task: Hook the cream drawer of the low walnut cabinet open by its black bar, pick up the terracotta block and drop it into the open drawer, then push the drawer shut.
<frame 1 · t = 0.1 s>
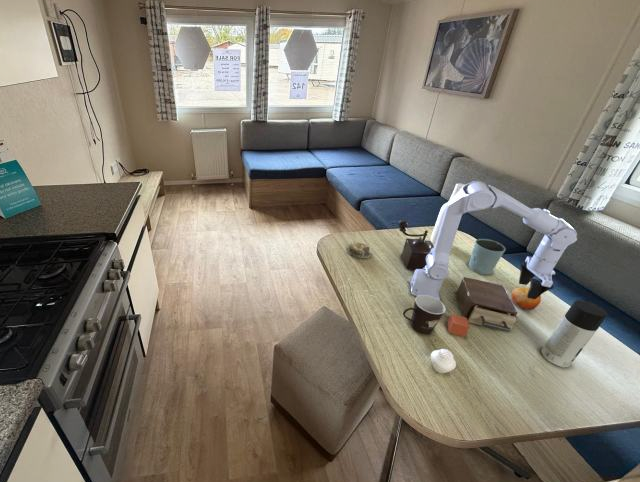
hand: (526, 290, 103), 10 cm above the table, tool pointing down, fingers open, 7 cm apart
manual coffee grinder: (409, 262, 134), on the table
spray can: (554, 358, 92), on the table
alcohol: (439, 243, 149), on the table
white garlic bulb: (439, 368, 88), on the table
fruit: (521, 305, 112), on the table
drawer: (488, 311, 103), point 4 cm above the table, slide at 1.0 cm
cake: (359, 253, 139), on the table
coffee mug: (416, 326, 101), on the table
green plant pot: (479, 269, 131), on the table
block: (455, 330, 100), on the table
cabinet: (480, 310, 109), on the table
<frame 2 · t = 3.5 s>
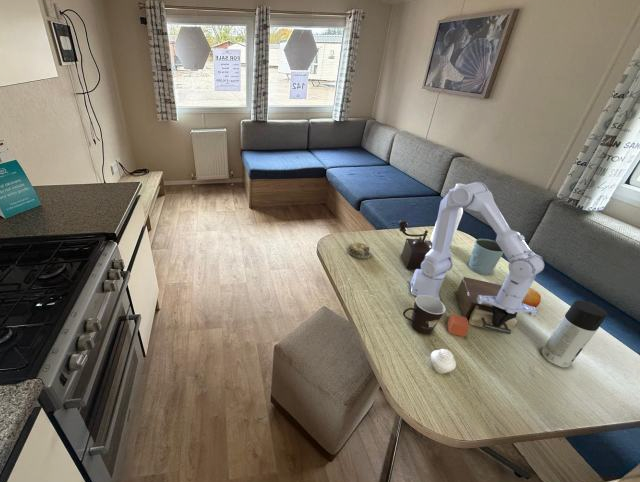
hand: (495, 325, 97), 4 cm above the table, tool pointing down, fingers closed, pressing on drawer
drawer: (488, 312, 102), point 4 cm above the table, slide at 1.9 cm, touching gripper
everything else where it was.
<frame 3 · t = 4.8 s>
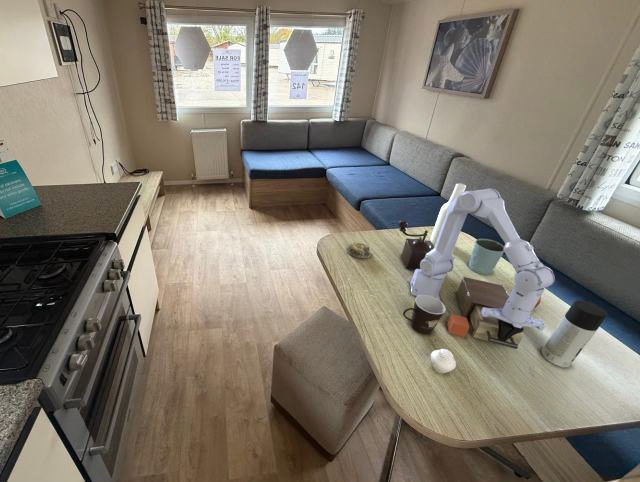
hand: (500, 339, 92), 4 cm above the table, tool pointing down, fingers closed, pressing on drawer
drawer: (493, 325, 98), point 4 cm above the table, slide at 7.7 cm, touching gripper
everything else where it was.
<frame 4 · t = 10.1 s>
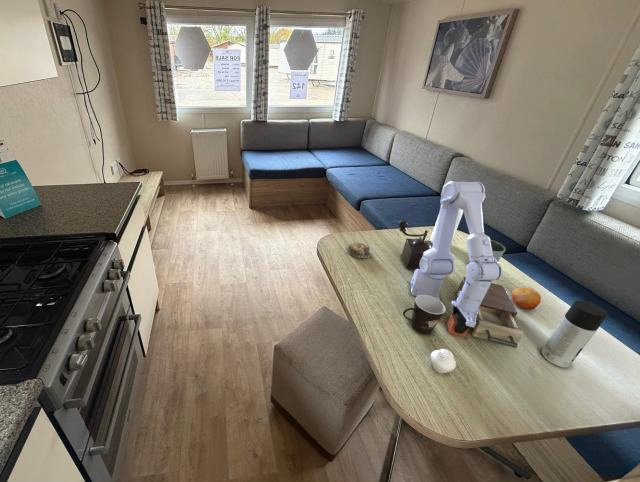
hand: (456, 326, 100), 1 cm above the table, tool pointing down, fingers closed on block, 4 cm apart
drawer: (493, 324, 98), point 4 cm above the table, slide at 7.3 cm
block: (455, 330, 100), on the table, touching gripper
everything else where it was.
when the fingers open (7 cm above the table, at t = 17.3 s): block drops 3 cm, resting on drawer.
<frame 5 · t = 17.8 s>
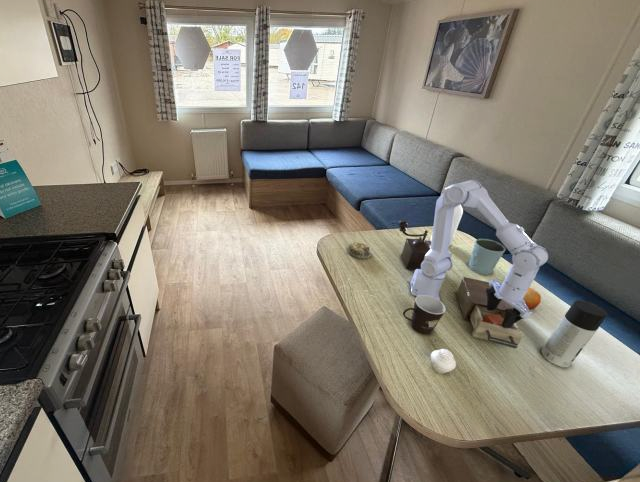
hand: (497, 318, 96), 7 cm above the table, tool pointing down, fingers open, 7 cm apart
drawer: (493, 324, 98), point 4 cm above the table, slide at 7.5 cm, touching block
block: (491, 329, 98), point 2 cm above the table, touching drawer
everything else where it was.
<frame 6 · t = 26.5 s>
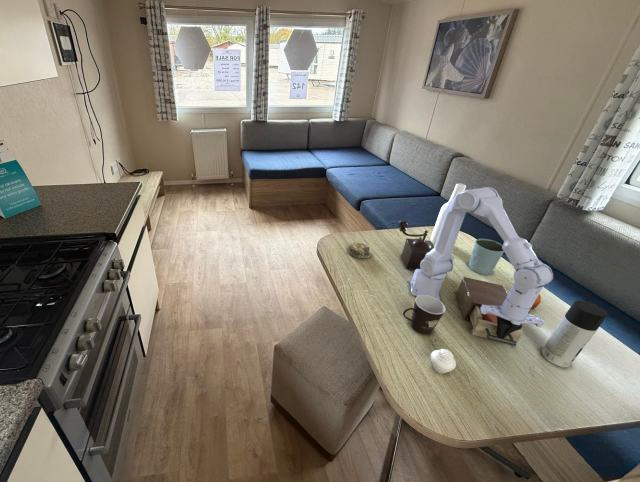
hand: (499, 336, 93), 4 cm above the table, tool pointing down, fingers closed, pressing on drawer
drawer: (492, 322, 98), point 4 cm above the table, slide at 6.6 cm, touching block, gripper
everything else where it was.
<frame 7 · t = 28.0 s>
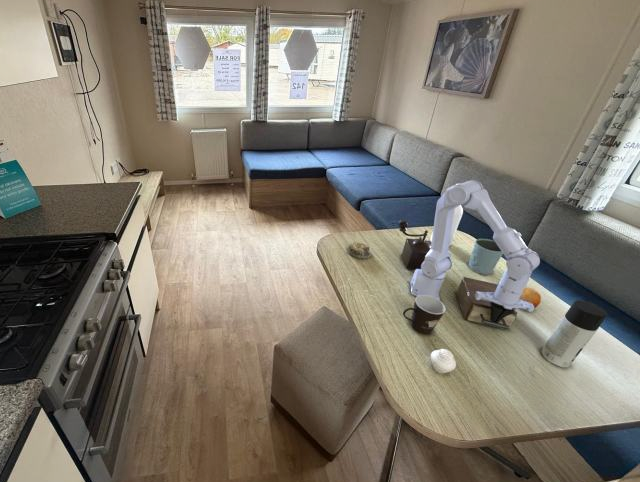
hand: (493, 321, 98), 4 cm above the table, tool pointing down, fingers closed, pressing on drawer
drawer: (487, 309, 104), point 4 cm above the table, slide at 0.0 cm, touching block, cabinet, gripper
block: (485, 313, 105), point 2 cm above the table, touching drawer
everything else where it was.
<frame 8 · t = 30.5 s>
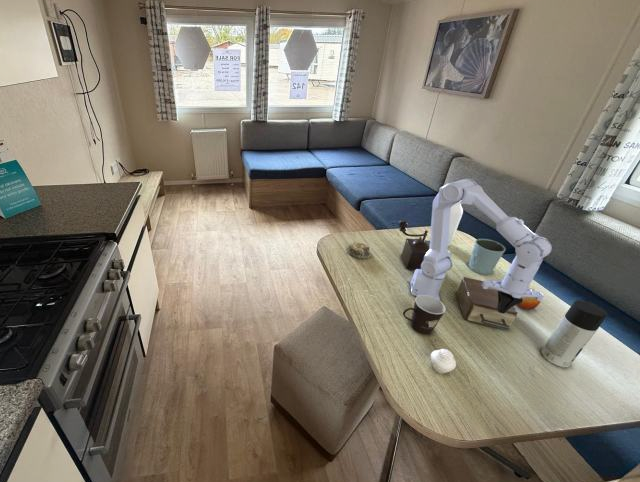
hand: (500, 311, 95), 9 cm above the table, tool pointing down, fingers closed
drawer: (487, 309, 104), point 4 cm above the table, slide at 0.0 cm, touching block
everything else where it was.
at the end: drawer pulled out 7.7 cm at the most during the clip, back to where it started at the end; block inside the target area in the cabinet (3.6 cm from its centre), point 2.0 cm above the cabinet's base; drawer slide at 0.0 cm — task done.
